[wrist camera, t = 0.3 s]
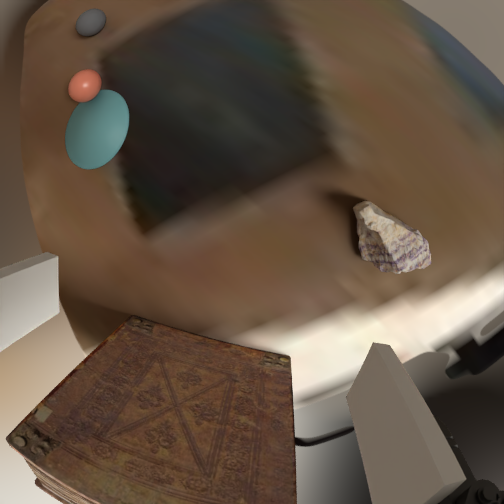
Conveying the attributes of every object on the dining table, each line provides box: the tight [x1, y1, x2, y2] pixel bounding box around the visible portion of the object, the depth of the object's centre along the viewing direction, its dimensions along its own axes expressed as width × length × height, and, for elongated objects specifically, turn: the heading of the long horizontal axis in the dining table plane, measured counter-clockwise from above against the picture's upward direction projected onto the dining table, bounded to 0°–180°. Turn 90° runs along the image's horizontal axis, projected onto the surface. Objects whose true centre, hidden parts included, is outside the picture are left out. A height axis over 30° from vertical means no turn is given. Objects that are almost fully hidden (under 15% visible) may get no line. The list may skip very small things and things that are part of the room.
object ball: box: [68, 69, 102, 103], centre depth 31 cm, size 6×6×6 cm
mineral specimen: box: [353, 201, 431, 274], centre depth 33 cm, size 13×7×6 cm, turn 64°
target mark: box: [65, 90, 129, 169], centre depth 35 cm, size 13×13×1 cm
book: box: [6, 315, 297, 504], centre depth 27 cm, size 25×9×30 cm, turn 78°
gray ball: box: [76, 9, 106, 36], centre depth 29 cm, size 6×6×6 cm
